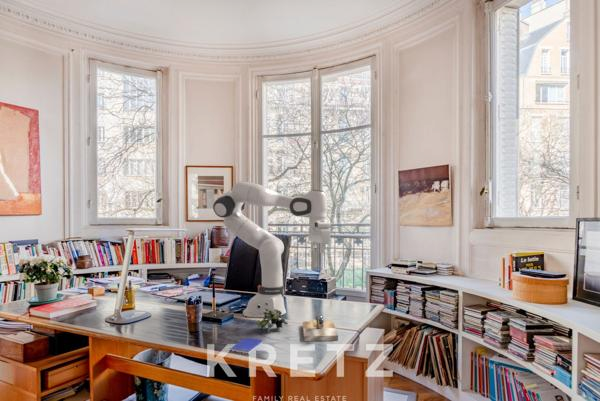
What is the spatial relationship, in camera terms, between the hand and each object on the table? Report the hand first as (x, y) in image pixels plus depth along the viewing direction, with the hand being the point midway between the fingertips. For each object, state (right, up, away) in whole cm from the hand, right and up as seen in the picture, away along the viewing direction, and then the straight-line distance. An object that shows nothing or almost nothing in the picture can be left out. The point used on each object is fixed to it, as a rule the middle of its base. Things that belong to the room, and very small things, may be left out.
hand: (318, 252), depth 181 cm
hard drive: (-30, -34, -31) cm, 55 cm away
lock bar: (0, -27, -20) cm, 34 cm away
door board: (0, -33, -15) cm, 37 cm away
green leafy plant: (-22, -34, -12) cm, 42 cm away
